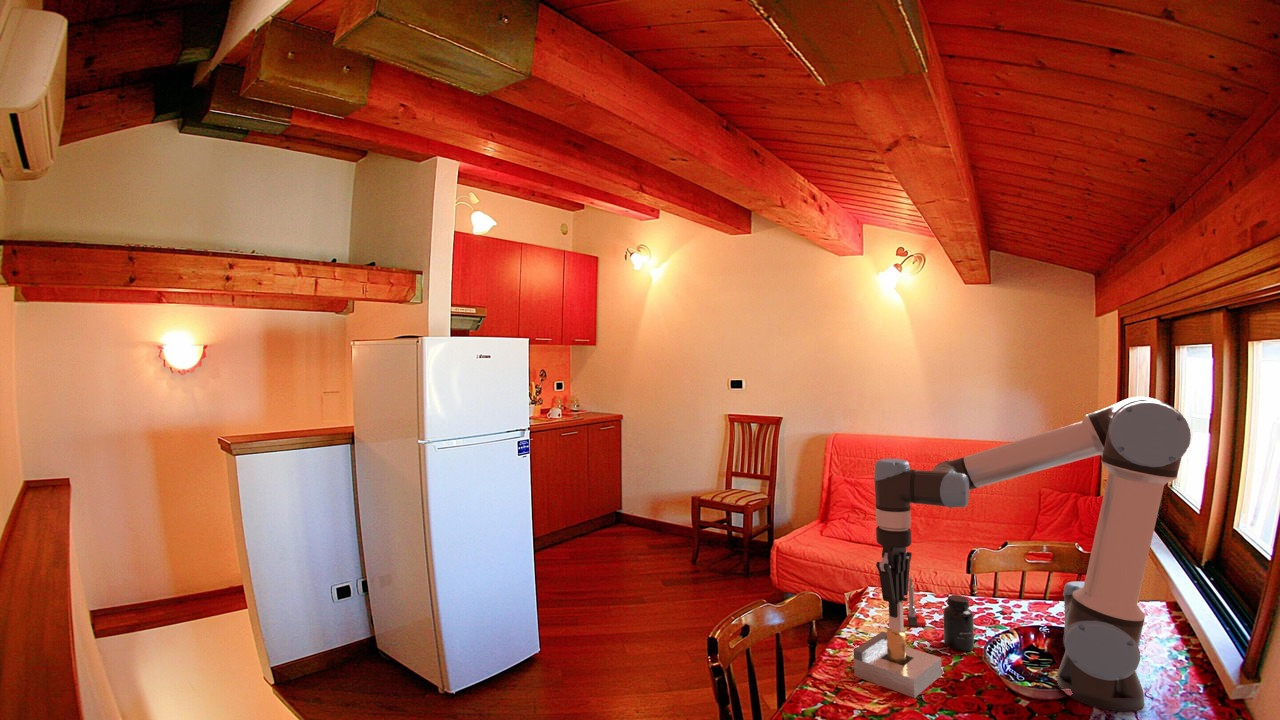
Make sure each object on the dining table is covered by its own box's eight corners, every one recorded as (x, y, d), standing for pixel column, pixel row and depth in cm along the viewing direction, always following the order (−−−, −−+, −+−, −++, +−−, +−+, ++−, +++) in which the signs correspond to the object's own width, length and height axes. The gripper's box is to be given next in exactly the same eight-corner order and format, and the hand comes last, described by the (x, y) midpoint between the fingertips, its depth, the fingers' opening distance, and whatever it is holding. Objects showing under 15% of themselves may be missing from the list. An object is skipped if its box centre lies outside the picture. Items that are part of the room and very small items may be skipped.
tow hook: (889, 614, 184) (897, 626, 174) (887, 569, 184) (895, 578, 175) (920, 616, 182) (929, 627, 173) (918, 569, 183) (927, 579, 174)
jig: (941, 675, 147) (940, 648, 147) (914, 698, 138) (913, 670, 138) (883, 655, 158) (882, 631, 158) (854, 675, 148) (853, 649, 148)
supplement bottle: (966, 654, 157) (965, 605, 157) (939, 645, 162) (937, 598, 162) (979, 646, 161) (977, 598, 161) (951, 637, 167) (950, 591, 167)
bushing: (909, 675, 148) (908, 631, 148) (902, 681, 145) (900, 637, 145) (893, 669, 151) (891, 627, 151) (885, 675, 148) (883, 632, 148)
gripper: (890, 519, 155) (893, 616, 155) (864, 529, 146) (867, 633, 146) (922, 524, 150) (925, 625, 149) (896, 535, 141) (899, 643, 141)
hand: (896, 629), depth 148 cm, fingers closed
